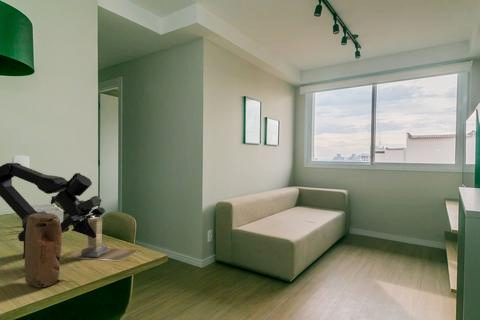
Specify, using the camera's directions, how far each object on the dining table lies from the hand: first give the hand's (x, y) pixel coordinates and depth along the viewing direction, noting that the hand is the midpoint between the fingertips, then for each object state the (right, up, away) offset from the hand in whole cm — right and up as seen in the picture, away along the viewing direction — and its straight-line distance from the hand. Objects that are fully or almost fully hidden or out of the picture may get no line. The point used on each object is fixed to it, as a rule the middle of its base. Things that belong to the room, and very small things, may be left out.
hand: (98, 235), depth 100 cm
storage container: (-46, -7, +37) cm, 60 cm away
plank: (+1, -9, +1) cm, 9 cm away
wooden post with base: (-2, -7, 0) cm, 7 cm away
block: (-7, -9, -19) cm, 22 cm away
